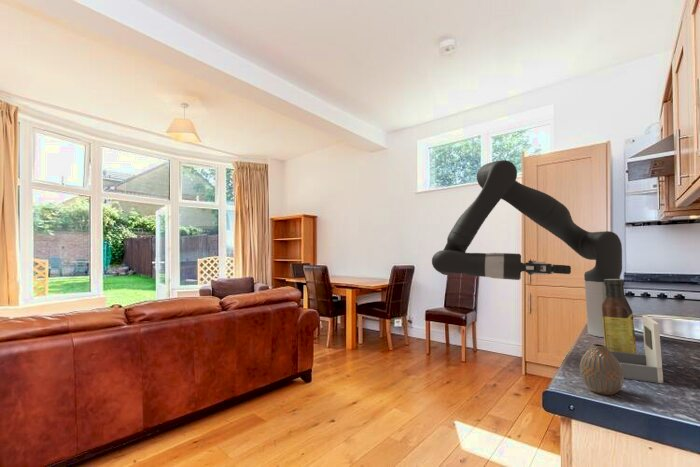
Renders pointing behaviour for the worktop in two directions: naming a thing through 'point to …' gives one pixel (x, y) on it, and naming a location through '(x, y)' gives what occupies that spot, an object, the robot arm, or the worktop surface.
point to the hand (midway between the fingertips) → (568, 269)
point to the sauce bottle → (617, 318)
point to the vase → (601, 370)
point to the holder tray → (644, 356)
